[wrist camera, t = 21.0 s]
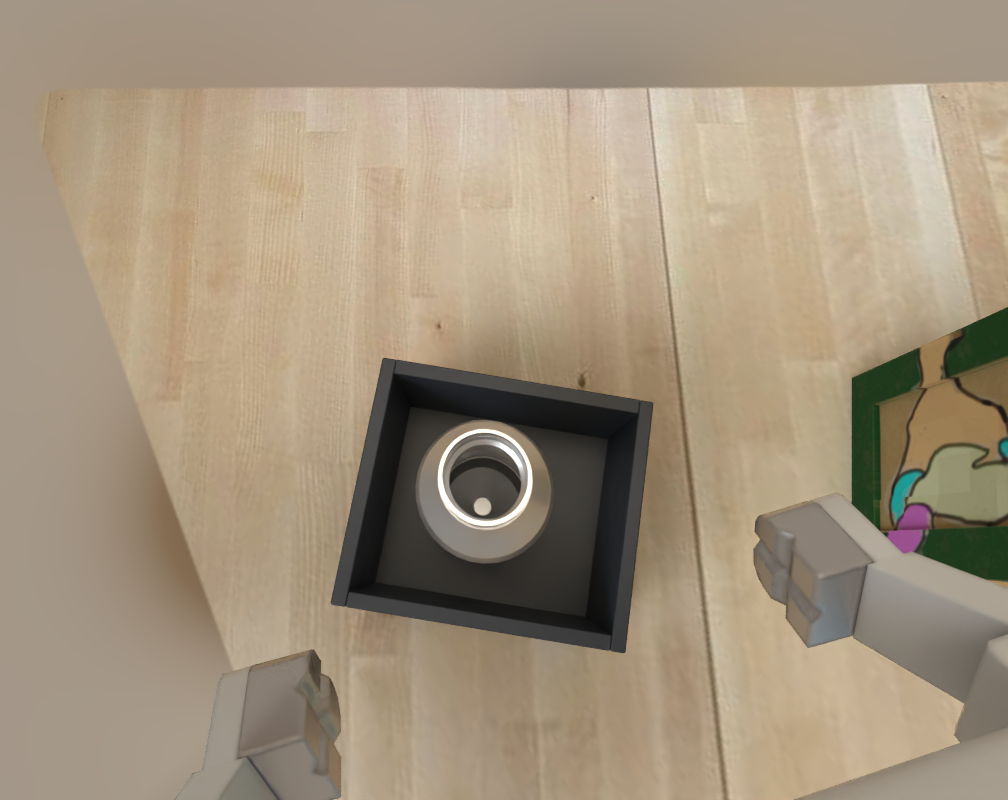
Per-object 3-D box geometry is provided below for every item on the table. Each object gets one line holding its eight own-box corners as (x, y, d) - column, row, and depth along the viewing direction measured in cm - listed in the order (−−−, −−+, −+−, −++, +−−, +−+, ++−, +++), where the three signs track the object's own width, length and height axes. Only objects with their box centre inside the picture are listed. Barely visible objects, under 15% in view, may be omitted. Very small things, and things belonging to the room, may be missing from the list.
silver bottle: (509, 444, 45) (531, 366, 26) (545, 537, 44) (597, 529, 24) (421, 477, 44) (375, 422, 25) (455, 573, 43) (434, 594, 24)
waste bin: (363, 591, 43) (329, 604, 34) (402, 396, 46) (382, 357, 37) (593, 630, 43) (625, 653, 34) (618, 432, 46) (653, 402, 37)
